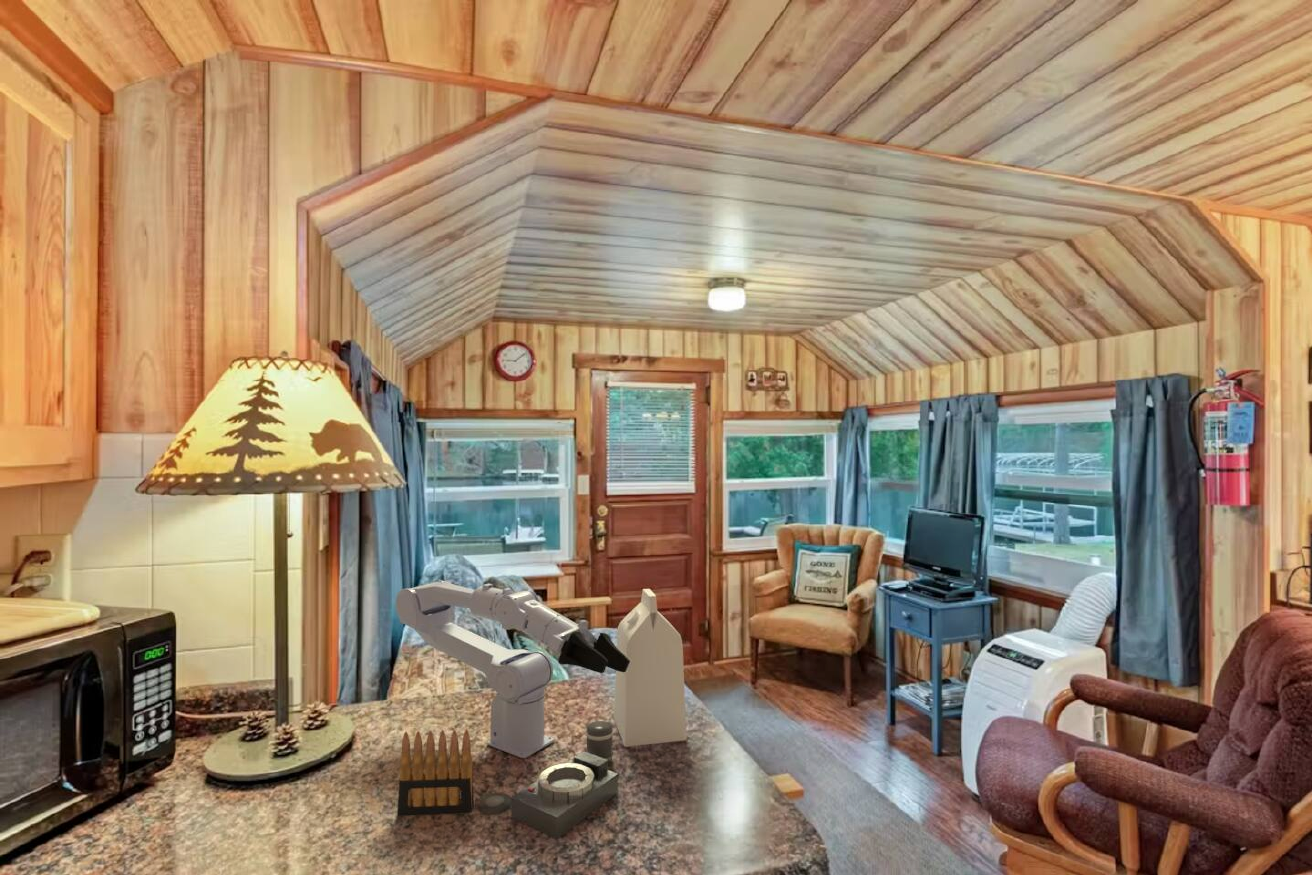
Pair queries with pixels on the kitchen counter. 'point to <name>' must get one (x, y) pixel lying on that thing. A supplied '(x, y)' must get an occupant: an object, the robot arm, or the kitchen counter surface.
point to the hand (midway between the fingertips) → (616, 666)
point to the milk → (650, 678)
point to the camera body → (565, 794)
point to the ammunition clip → (435, 777)
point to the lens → (600, 740)
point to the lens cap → (494, 803)
